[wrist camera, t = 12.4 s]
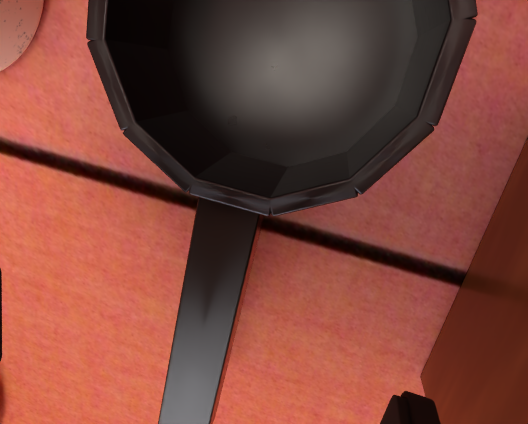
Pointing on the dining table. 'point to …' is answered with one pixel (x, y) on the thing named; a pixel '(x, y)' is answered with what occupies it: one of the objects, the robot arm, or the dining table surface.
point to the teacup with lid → (17, 28)
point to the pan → (266, 128)
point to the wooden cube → (488, 323)
